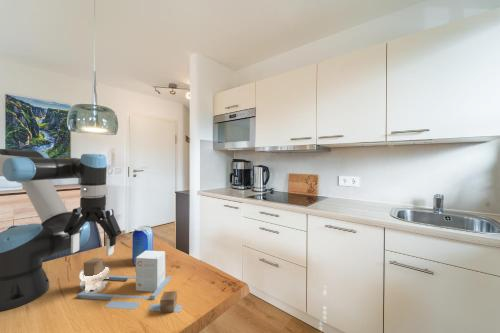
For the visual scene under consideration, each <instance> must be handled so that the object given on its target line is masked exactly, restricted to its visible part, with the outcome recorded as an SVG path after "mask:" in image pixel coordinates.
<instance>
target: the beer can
mask: <svg viewBox="0 0 500 333" xmlns="http://www.w3.org/2000/svg"><path fill="white" fill-rule="evenodd" d="M144 251H154V231H153V229H152V226H150V225H141V226H137V227H135V228H134V231H133V232H132V254H131V255H132V263H133V264H134V265H135V266H136V257H137V256H139V255H140V254H142V253H143V252H144Z"/></svg>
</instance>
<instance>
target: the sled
mask: <svg viewBox="0 0 500 333" xmlns="http://www.w3.org/2000/svg"><path fill="white" fill-rule="evenodd" d="M102 271H103V272H104V258H99V257H92V258H90V259H89V260H87V261H85V262H83V276H84V275H85V276H93V275H97V274H99V273H100V272H102ZM108 275H109V276H108V277H109V280H108V281H116V282H117V281H120V282H121V281H122V282H123V281H124V282H127V280H128V279H135V280H136V276H129V275H114V274H113V275H112V274H108ZM171 277H172V276H171V275H167V276H165V279H164V281H163V282H162V283H161V284H160V286H159V287H158V288H157V289H156V290H155V292H153V293H152V294H151V295H150V296H145V295H143V296H142V295H126V294H113V293H112V294H111V293H97V292H88V293H86V292H85V291H84V290H82V291H81V292H79V293H78V294H77V296H76V298H77V299H87V300H101V301H102V300H104V301H112V299H113V298H124V299H125V298H126V299H140V300H142V299H143V300H152V301H153V300H156V298H157V297H158V296H159V295H160V293H161V292H162V291H163V289H165V287H166V286H167V284H168V283H169V282H170V281H171V279H172V278H171Z"/></svg>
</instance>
